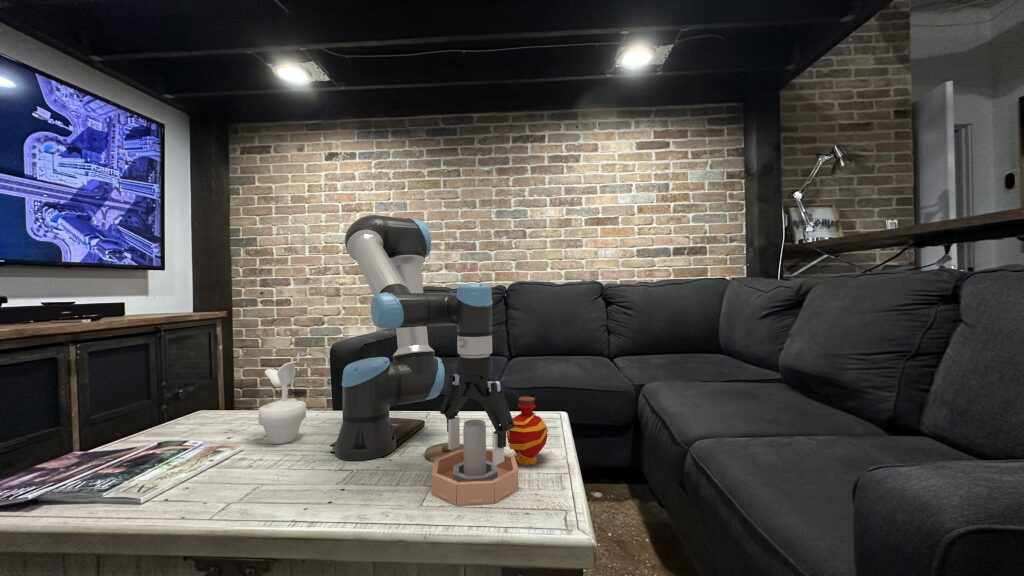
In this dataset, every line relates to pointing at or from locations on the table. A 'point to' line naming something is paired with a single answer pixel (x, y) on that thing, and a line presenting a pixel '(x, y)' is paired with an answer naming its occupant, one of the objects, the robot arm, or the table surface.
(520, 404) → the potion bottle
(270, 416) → the potted plant
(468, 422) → the beverage can
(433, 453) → the walnut lid
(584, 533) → the table surface
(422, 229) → the robot arm
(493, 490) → the dish
